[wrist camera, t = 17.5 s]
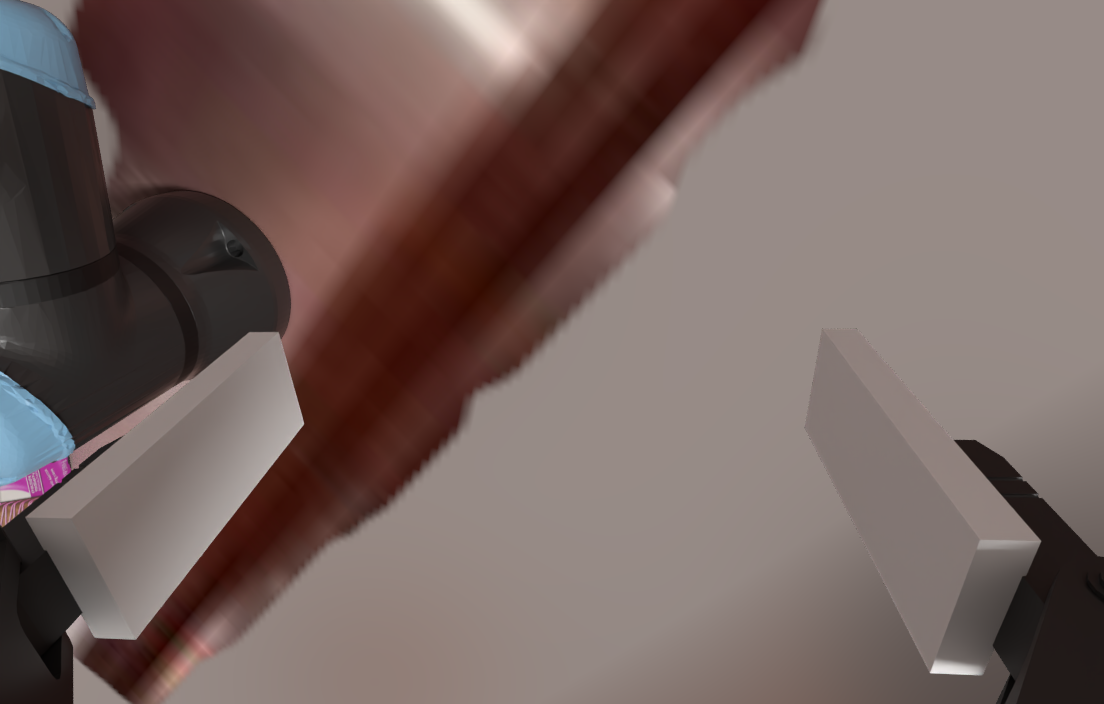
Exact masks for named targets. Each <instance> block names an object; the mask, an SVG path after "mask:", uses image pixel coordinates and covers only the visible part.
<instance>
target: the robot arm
mask: <svg viewBox="0 0 1104 704" xmlns="http://www.w3.org/2000/svg"><path fill="white" fill-rule="evenodd" d="M92 109H96V106H95V102H94V100H93V98H92V97H90V96H89V94H88V90H87V86H86V82H85V78H84V74H83V69H82V65H81V61H80V57H79V53H78V48H77V45H76V42H75V39H74V37H73V35H72V34H71V32H70V31H69V29H68V28H67V27H66V26H65V25H64V24H63V23H62V22H61V21H60V20H59V19H58V18H57V17H55V16H54V15H53V14H51V13H50V12H48V11H47V10H45V9H43V8H41V7H38V6H36V5H33V4H30V3H27V2H23V1H20V0H0V487H1V486H5V485H8V484H11V483H14V482H16V481H18V480H20V479H22V478H24V477H25V476H27V475H29V474H31V473H33V472H35V471H36V470H38V469H40V468H42V467H44V466H46V465H48V464H50V463H51V462H53V461H58V460H61V459H64V458H66V457H68V456H69V455H70V454H71V453H73V451H74V450H76V449H77V448H79V447H80V446H82V445H84V444H85V443H87V442H88V441H90V440H91V439H93V438H94V437H96V436H98V435H99V434H101V433H102V432H104V431H105V430H107V429H109V428H110V427H112V426H113V425H115V424H116V423H118V422H119V421H121V420H123V419H124V418H126V417H127V416H129V415H130V414H132V413H133V412H135V411H137V410H138V409H140V408H141V407H143V406H144V405H146V404H148V403H149V402H151V401H152V400H154V399H155V398H157V397H158V396H160V395H162V394H163V393H165V392H166V391H168V390H169V389H171V388H172V387H174V386H176V385H177V384H179V383H181V382H182V381H185V380H191V379H192V380H191V381H190V382H189V383H187V384H186V385H185V386H184V387H182V388H181V389H180V390H179V391H178V392H176V393H175V394H174V395H173V396H172V397H170V398H169V399H168V400H167V401H166V402H164V403H163V404H162V405H161V406H159V407H158V408H157V409H156V410H155V411H153V412H152V413H151V414H150V415H149V416H147V417H146V418H145V419H144V420H143V421H141V422H140V423H139V424H138V425H136V426H135V427H134V428H133V429H132V430H130V431H129V432H128V433H127V434H126V435H124V436H122V437H120V438H118V439H116V440H114V441H113V442H111V443H109V444H107V445H105V446H103V447H101V448H100V449H98V450H97V451H96V452H95V453H93V454H92V455H91V456H90V457H88V458H87V459H86V460H85V461H84V462H82V463H81V464H80V465H79V468H78V469H74V470H72V471H71V472H70V473H69V474H68V475H66V476H65V477H64V478H63V479H62V482H61V483H56V484H55V485H54V486H53V487H52V488H50V489H49V490H48V491H47V492H45V493H44V494H43V495H42V496H40V497H39V498H38V499H37V500H35V501H34V502H33V503H32V504H31V505H29V506H28V507H27V508H26V509H24V510H23V511H22V512H21V513H19V514H18V515H17V516H16V517H15V518H13V519H12V520H11V521H10V522H8V523H7V524H6V525H5V526H3V527H2V526H1V525H0V704H73V646H72V643H71V641H70V638H69V637H68V635H67V633H66V632H65V631H66V630H67V629H68V628H69V627H70V626H71V624H72V623H73V622H74V621H75V620H76V619H77V618H78V617H79V616H80V615H82V617H83V618H84V620H85V622H86V623H87V625H88V627H89V629H90V630H91V632H92V634H93V636H94V637H95V638H112V639H136V638H137V637H138V636H139V635H140V633H141V632H142V631H143V630H144V628H145V627H146V626H147V624H148V623H149V622H150V621H151V619H152V618H153V617H154V615H155V614H156V613H157V612H158V610H159V609H160V608H161V606H162V605H163V604H164V603H165V601H166V600H167V599H168V598H169V596H170V595H171V594H172V592H173V591H174V590H175V589H176V587H177V586H178V585H179V583H180V582H181V581H182V580H183V578H184V577H185V576H186V574H187V573H188V572H189V571H190V569H191V568H192V567H193V565H194V564H195V563H196V562H197V560H198V559H199V558H200V557H201V555H202V554H203V553H204V551H205V550H206V549H207V548H208V546H209V545H210V544H211V542H212V541H213V540H214V539H215V537H216V536H217V535H218V533H219V532H220V531H221V530H222V528H223V527H224V526H225V525H226V523H227V522H228V521H229V519H230V518H231V517H232V516H233V514H234V513H235V512H236V510H237V509H238V508H239V507H240V505H241V504H242V503H243V501H244V500H245V499H246V498H247V496H248V495H249V494H250V493H251V491H252V490H253V489H254V487H255V486H256V485H257V484H258V482H259V481H260V480H261V478H262V477H263V476H264V475H265V473H266V472H267V471H268V469H269V468H270V467H271V466H272V464H273V463H274V462H275V461H276V459H277V458H278V457H279V455H280V454H281V453H282V452H283V450H284V449H285V448H286V446H287V445H288V444H289V443H290V441H291V440H292V439H293V437H294V436H295V435H296V434H297V432H298V431H299V430H300V428H301V427H302V426H303V425H304V422H303V418H302V415H301V411H300V407H299V404H298V400H297V397H296V393H295V389H294V386H293V382H292V379H291V375H290V371H289V368H288V364H287V360H286V357H285V353H284V350H283V346H282V342H281V339H282V337H283V335H284V333H285V331H286V329H287V326H288V322H289V318H290V310H291V299H290V290H289V285H288V281H287V277H286V274H285V271H284V268H283V266H282V264H281V261H280V259H279V257H278V255H277V254H276V252H275V250H274V248H273V247H272V245H271V244H270V242H269V241H268V240H267V238H266V237H265V236H264V234H263V233H262V232H261V231H260V230H259V229H258V228H257V227H256V225H255V224H254V223H252V222H251V221H250V220H249V219H248V218H247V217H246V216H245V215H243V214H242V213H241V212H239V211H238V210H237V209H235V208H234V207H232V206H231V205H229V204H227V203H225V202H223V201H221V200H219V199H217V198H215V197H212V196H209V195H207V194H203V193H199V192H193V191H173V192H168V193H164V194H159V195H155V196H151V197H147V198H144V199H142V200H140V201H137V202H135V203H133V204H132V205H130V206H129V207H127V208H126V209H125V210H124V211H123V212H122V213H121V214H120V215H119V216H117V217H116V218H115V219H113V220H112V215H111V210H110V204H109V199H108V193H107V188H106V182H105V177H104V171H103V165H102V160H101V154H100V149H99V143H98V139H97V132H96V127H95V121H94V116H93V110H92ZM805 430H806V432H807V433H808V436H809V437H810V440H811V441H812V443H813V445H814V447H815V449H816V451H817V453H818V455H819V457H820V459H821V461H822V463H823V465H824V467H825V469H826V471H827V473H828V475H829V477H830V478H831V481H832V483H833V484H834V486H835V488H836V490H837V492H838V494H839V496H840V498H841V500H842V502H843V504H844V506H845V508H846V510H847V512H848V514H849V516H850V518H851V520H852V522H853V524H854V525H855V527H856V529H857V531H858V533H859V535H860V537H861V539H862V541H863V543H864V545H865V547H866V549H867V551H868V553H869V555H870V557H871V559H872V561H873V563H874V565H875V567H876V568H877V570H878V572H879V574H880V576H881V578H882V580H883V582H884V584H885V586H886V588H887V590H888V592H889V594H890V596H891V598H892V600H893V601H894V604H895V606H896V607H897V609H898V611H899V613H900V615H901V617H902V619H903V621H904V623H905V625H906V627H907V629H908V631H909V633H910V635H911V637H912V639H913V641H914V643H915V645H916V647H917V648H918V650H919V652H920V654H921V656H922V658H923V660H924V662H925V664H926V666H927V668H928V670H929V672H930V673H942V674H965V675H983V673H984V671H985V669H986V666H987V664H988V661H989V659H990V657H991V655H992V652H993V650H994V649H995V650H996V652H997V653H998V655H999V656H1000V658H1001V659H1002V661H1003V663H1004V664H1005V666H1006V667H1007V669H1008V671H1009V672H1010V675H1009V677H1008V679H1007V681H1006V684H1005V686H1004V688H1003V690H1002V692H1001V694H1000V696H999V698H998V701H997V703H996V704H1104V557H1100V556H1097V555H1096V554H1095V553H1094V552H1093V551H1092V550H1091V549H1090V548H1089V547H1088V546H1087V545H1086V544H1085V543H1084V542H1083V541H1082V539H1081V538H1080V537H1079V536H1078V535H1077V534H1076V533H1075V532H1074V531H1073V530H1072V529H1071V528H1070V527H1069V526H1068V525H1067V524H1066V523H1065V522H1064V521H1063V520H1062V519H1061V517H1060V516H1059V515H1058V514H1057V513H1056V512H1055V511H1054V510H1053V509H1052V508H1051V507H1050V506H1049V505H1048V504H1047V503H1046V502H1045V501H1044V499H1042V498H1039V497H1038V493H1037V492H1036V491H1035V490H1034V489H1033V488H1032V487H1031V486H1030V485H1029V484H1028V483H1027V482H1026V481H1023V480H1022V476H1021V475H1020V474H1019V473H1018V472H1017V471H1016V470H1015V469H1014V468H1013V467H1012V466H1011V465H1010V464H1009V463H1008V462H1007V461H1006V460H1005V458H1003V457H1002V456H1000V455H999V454H997V453H995V452H994V451H992V450H991V449H989V448H987V447H986V446H984V445H982V444H981V443H979V442H977V441H976V440H953V439H952V438H951V437H950V435H949V434H948V433H947V432H946V431H945V430H944V428H943V427H942V426H941V425H940V424H939V423H938V422H937V420H936V419H935V418H934V417H933V416H932V415H931V414H930V412H929V411H928V410H927V409H926V408H925V407H924V406H923V404H922V403H921V402H920V401H919V400H918V399H917V397H916V396H915V395H914V394H913V393H912V392H911V391H910V389H909V388H908V387H907V386H906V385H905V384H904V382H903V381H902V380H901V379H900V378H899V377H898V376H897V375H896V373H895V372H894V371H893V370H892V369H891V367H890V366H889V365H888V364H887V363H886V362H885V361H884V359H883V358H882V357H881V356H880V355H879V354H878V353H877V351H876V350H875V349H874V348H873V347H872V346H871V344H870V343H869V342H868V341H867V340H866V339H865V337H864V336H863V335H862V334H861V333H860V332H859V331H858V329H856V328H853V329H851V328H850V329H822V333H821V338H820V344H819V349H818V356H817V361H816V366H815V372H814V378H813V383H812V389H811V395H810V401H809V406H808V411H807V417H806V423H805Z"/></svg>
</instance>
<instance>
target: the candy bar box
mask: <svg viewBox="0 0 1104 704" xmlns="http://www.w3.org/2000/svg"><path fill="white" fill-rule="evenodd" d="M70 472H71V467H70V460H69V456H68V457H66V458H64V459H61V460H58V461H53V462H51V463H50V464H48V465H46V466H44V467H42V468H40V469H38V470H36V471H35V472H33V473H31V474H29V475H27V476H25V477H24V478H22V479H20V480H18V481H16V482H14V483H11V484H8V485H5V486H1V487H0V525H1V526H2V527H3V526H5V525H6V524H7V523H8V522H10V521H11V520H12V519H13V518H15V517H16V516H17V515H18V514H19V513H21V512H22V511H23V510H24V509H26V508H27V507H28V506H29V505H31V504H32V503H33V502H34V501H35V500H37V499H38V498H39V497H40V496H42V495H43V494H44V493H45V492H47V491H48V490H49V489H50V488H52V487H53V486H54V485H55V484H56V483H61V482H62V479H63V478H64V477H65V476H66V475H68V474H69V473H70Z"/></svg>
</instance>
